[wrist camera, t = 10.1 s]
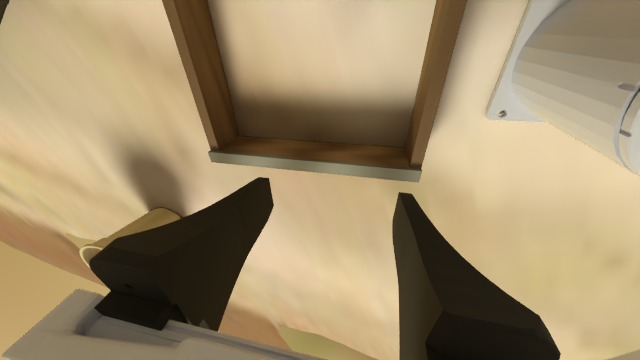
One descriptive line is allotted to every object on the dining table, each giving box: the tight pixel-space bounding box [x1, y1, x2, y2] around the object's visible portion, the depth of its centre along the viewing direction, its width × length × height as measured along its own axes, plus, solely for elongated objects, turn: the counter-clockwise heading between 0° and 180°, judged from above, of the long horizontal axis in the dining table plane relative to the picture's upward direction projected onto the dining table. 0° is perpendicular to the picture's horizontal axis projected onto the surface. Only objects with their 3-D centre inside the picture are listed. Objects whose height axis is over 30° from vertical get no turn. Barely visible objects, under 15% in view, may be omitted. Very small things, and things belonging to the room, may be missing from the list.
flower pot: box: [79, 208, 181, 267], centre depth 31 cm, size 9×9×9 cm
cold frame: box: [162, 0, 467, 182], centre depth 15 cm, size 18×18×4 cm
